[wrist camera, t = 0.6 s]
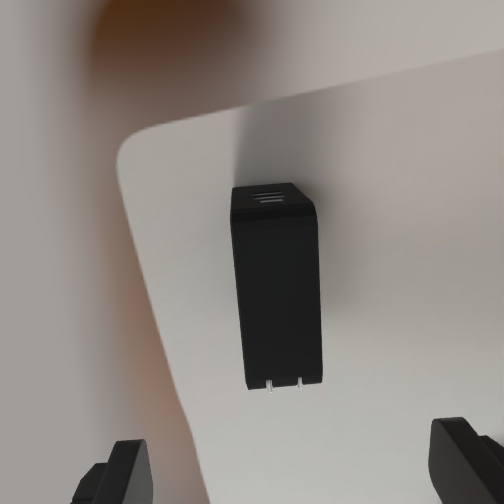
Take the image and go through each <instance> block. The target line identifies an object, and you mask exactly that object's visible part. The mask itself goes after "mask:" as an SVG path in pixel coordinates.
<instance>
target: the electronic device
mask: <svg viewBox="0 0 504 504" xmlns="http://www.w3.org/2000/svg"><path fill="white" fill-rule="evenodd" d="M230 225H231V236H232V246H233V257H234V267H235V277H236V288H237V298H238V308H239V318H240V329H241V339H242V349H243V360H244V370H245V380H246V384H247V387H248V390H251V389H262V388H266V380H267V387H268V393H271V392H272V389H271V380H272V386H273V387H284V386H295V385H297V384H298V388H299V390H302V383H303V385H306V384H317V383H321V382H322V376H323V363H322V334H321V305H320V276H319V247H318V222H317V214H316V210H315V206H314V204H313V202H312V201H311V200H309V199H308V198H307V197H306V196H305V195H304V194H303V193H302V192H301V191H300V190H298V189H297V188H296V187H295V186H294V185H293V184H292V183H283V184H271V185H259V186H248V187H236V188H232V196H231V211H230Z"/></svg>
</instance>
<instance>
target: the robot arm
mask: <svg viewBox="0 0 504 504" xmlns="http://www.w3.org/2000/svg"><path fill="white" fill-rule="evenodd" d="M428 467H429V473H430V477H431V481H432V483H433V486H434V488H435V490H436V492H437V494H438V495H439V497H440V499H441V501H442V503H443V504H504V447H503V446H501V445H500V444H498V443H497V442H495V441H494V440H493V439H491V438H490V437H488V436H487V435H485V436H478V434H477V433H476V432H475V431H474V429H473V428H472V427H471V426H470V424H469V423H468V422H467V421H466V419H464V418H463V417H452V418H438V419H434V420H433V421H432V425H431V436H430V448H429V460H428ZM152 501H153V482H152V475H151V469H150V463H149V457H148V451H147V445H146V441H145V440H144V439H140V440H126V441H117V442H116V443H115V445H114V447H113V450H112V452H111V455H110V458H109V460H108V463H96V464H95V465H94V466H93V467H92V468H91V469H90V470H89V471H88V473H87V474H86V475H85V476H84V477H83V478H82V479H81V480H80V483H79V485H78V487H77V489H76V492H75V494H74V496H73V498H72V503H70V504H152Z"/></svg>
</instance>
